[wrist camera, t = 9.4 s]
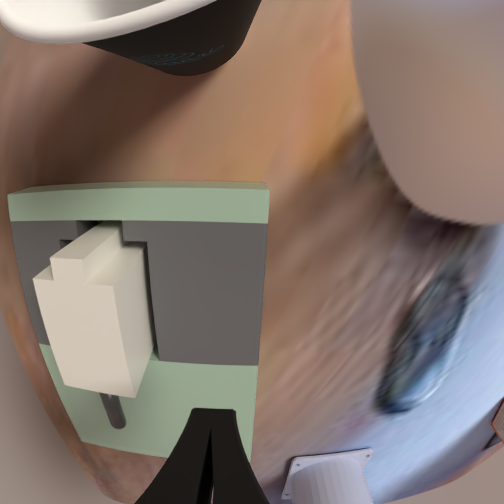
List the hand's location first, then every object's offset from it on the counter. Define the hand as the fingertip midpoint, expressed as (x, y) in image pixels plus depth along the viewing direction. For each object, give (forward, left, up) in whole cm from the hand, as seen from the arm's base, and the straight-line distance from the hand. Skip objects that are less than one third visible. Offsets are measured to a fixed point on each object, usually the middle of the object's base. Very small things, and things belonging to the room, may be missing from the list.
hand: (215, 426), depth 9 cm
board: (-3, +5, -9) cm, 11 cm away
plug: (-1, +6, -9) cm, 11 cm away
